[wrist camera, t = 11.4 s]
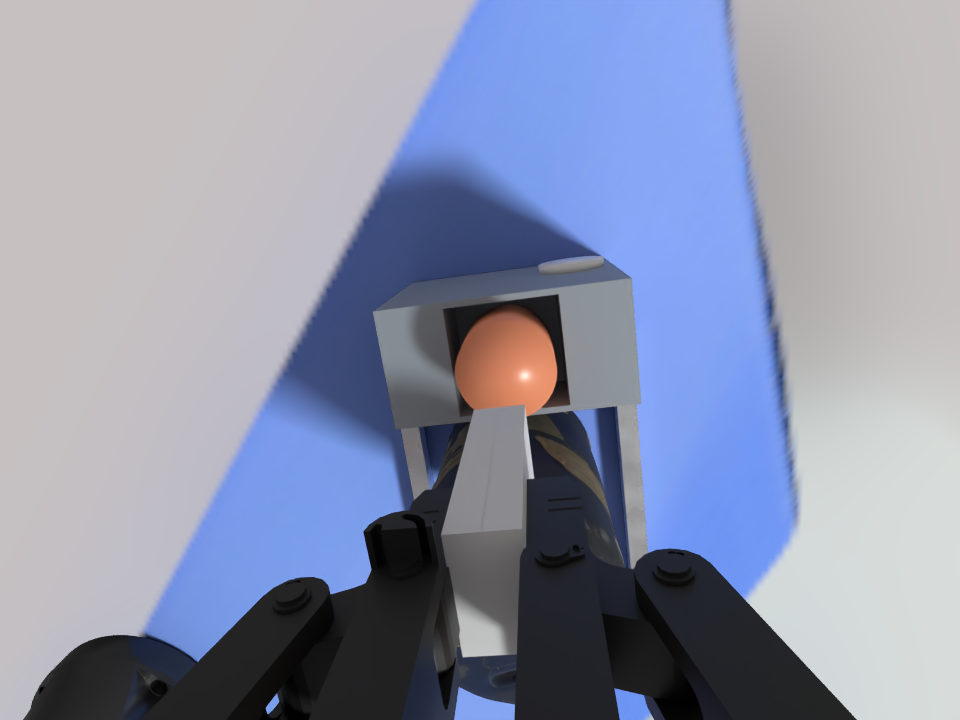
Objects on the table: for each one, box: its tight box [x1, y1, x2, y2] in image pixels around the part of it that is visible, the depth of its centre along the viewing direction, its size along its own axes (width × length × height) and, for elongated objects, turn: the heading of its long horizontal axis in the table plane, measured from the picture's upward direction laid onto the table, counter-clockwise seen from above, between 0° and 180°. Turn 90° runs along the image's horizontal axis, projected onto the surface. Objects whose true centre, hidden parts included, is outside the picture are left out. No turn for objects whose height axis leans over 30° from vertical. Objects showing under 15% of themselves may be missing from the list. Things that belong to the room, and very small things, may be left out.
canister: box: [432, 411, 625, 704], centre depth 31 cm, size 10×10×18 cm
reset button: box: [455, 304, 557, 417], centre depth 27 cm, size 4×4×4 cm
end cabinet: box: [373, 256, 641, 430], centre depth 32 cm, size 12×6×10 cm, turn 98°
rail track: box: [401, 404, 648, 569], centre depth 39 cm, size 15×20×2 cm
